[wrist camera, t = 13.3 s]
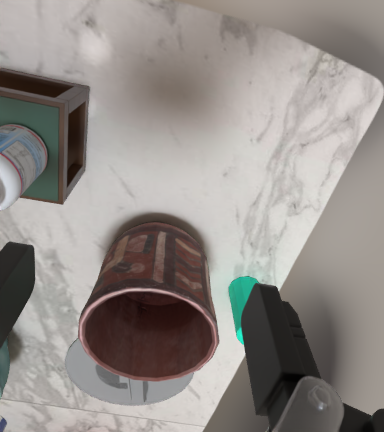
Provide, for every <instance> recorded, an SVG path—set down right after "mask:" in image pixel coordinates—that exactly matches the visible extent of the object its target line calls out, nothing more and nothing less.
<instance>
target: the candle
mask: <svg viewBox="0 0 384 432" xmlns="http://www.w3.org/2000/svg"><path fill="white" fill-rule="evenodd" d="M255 283H259V282H258V281H257V280H256V279H254V278H251V277H249V276H247V277H239V278H237V279H236V280H234V281H232V283H231V284H230V286H229V296H230V301H231V307H232V313H233V318H234V324H235V330H236V335H237V339H238V340H239V341H240V342H241V343H242V344H243V345H244V342H243V336H242V330H241V316H242V311H243V309H244V306H245V304H246V302H247V300H248V297H249V295H250V293H251V290H252V288H253V286H254V284H255Z"/></svg>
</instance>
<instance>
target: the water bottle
mask: <svg viewBox="0 0 384 432" xmlns="http://www.w3.org/2000/svg"><path fill="white" fill-rule="evenodd" d="M6 424H7V423H6V420H5V419H4V418H2V417H1V416H0V432H3V431H4V429H5V427H6Z"/></svg>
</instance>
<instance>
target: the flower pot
mask: <svg viewBox="0 0 384 432" xmlns="http://www.w3.org/2000/svg"><path fill="white" fill-rule="evenodd" d="M7 345H8V338H6V340H5V342H4V344H3V346H2V347H1V349H0V399H1V397H2V394H3V389H4V387H5V384H6V382H7V378H8V374H9V368H10V357H9V351H8V348H7Z"/></svg>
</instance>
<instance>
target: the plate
mask: <svg viewBox="0 0 384 432" xmlns="http://www.w3.org/2000/svg"><path fill="white" fill-rule="evenodd" d="M65 367H66V371H67V374H68V376H69V378H70V379H71V381H72V382H73V383H74V384H75V385H76V386H77V387H78V388H79V389H80V390H82V391H83V392H85V393H87V394H88V395H90V396H92V397H94V398H97V399H99V400H102V401H105V402H109V403H113V404H119V405H131V406H136V405H148V404H153V403H157V402H161V401H164V400H167V399H169V398H171V397H173V396H175V395H176V394H178V393H180V392H181V391H182V390H183V389H185V388H186V386H187V385H188V384H189V383H190V381H191V379H192V378H193V374H194V372H193V373H191V374H189V375H186V376H184V377H182V378H178V379H172V380H166V381H160V382H152V381H139V380H132V379H129V378H126V377H123V376H119V375H116V374H113V373H111V372H110V371H108V370H106V369H105V368H103V367H101V366H100V365H98V364H96V363H95V362H94V361H93V360H92V359H91V358H90V357H89V356H88V355H87V353H86V352H85V351H84V349H83V346H82V344H81V342H80V340H79V338H78V339H77V340H76V341H75V342H74V343H73V344H72V345H71V347H70V348H69V350H68V352H67V355H66V359H65Z"/></svg>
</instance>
